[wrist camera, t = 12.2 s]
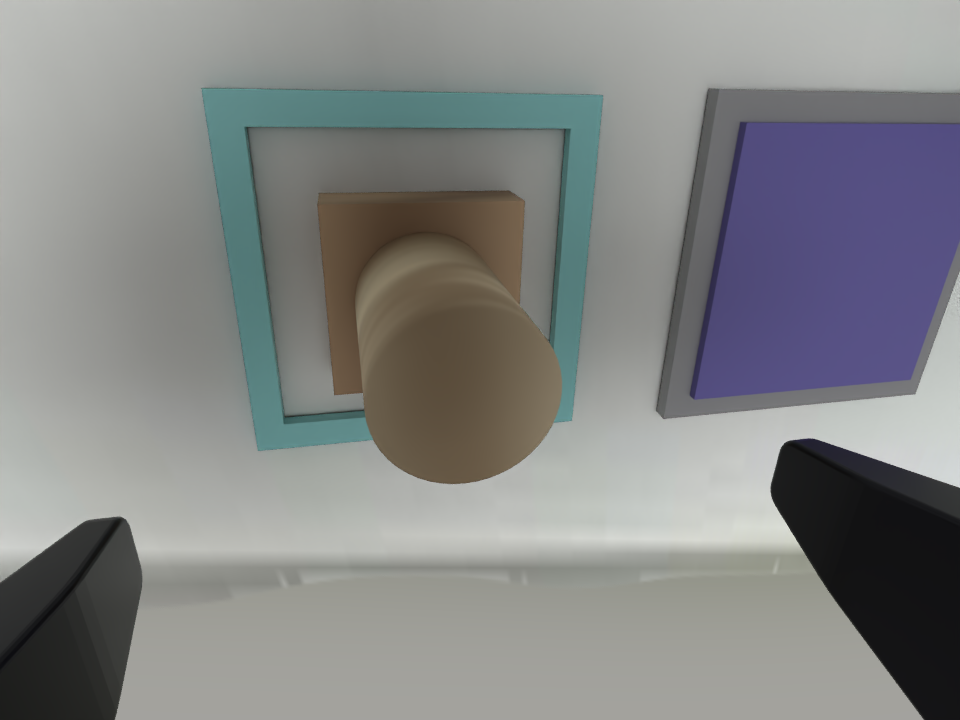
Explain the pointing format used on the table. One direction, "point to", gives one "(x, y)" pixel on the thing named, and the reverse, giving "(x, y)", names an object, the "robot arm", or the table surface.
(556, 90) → the table surface
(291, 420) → the teal flat square frame
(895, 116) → the ink pad
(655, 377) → the table surface
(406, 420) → the stamp
